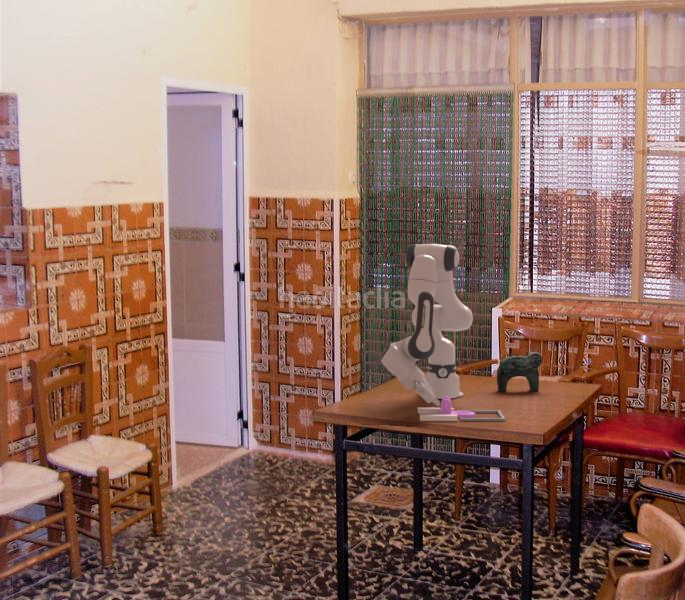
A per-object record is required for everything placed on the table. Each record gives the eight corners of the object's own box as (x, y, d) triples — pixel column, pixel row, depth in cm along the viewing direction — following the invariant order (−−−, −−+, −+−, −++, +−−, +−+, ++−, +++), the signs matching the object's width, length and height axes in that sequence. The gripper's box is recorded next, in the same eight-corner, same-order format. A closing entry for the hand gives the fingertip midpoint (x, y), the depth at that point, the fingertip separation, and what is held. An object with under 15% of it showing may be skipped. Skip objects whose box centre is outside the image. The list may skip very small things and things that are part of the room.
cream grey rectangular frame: (417, 412, 384) (417, 407, 384) (499, 412, 384) (499, 407, 383) (420, 421, 369) (420, 415, 369) (505, 421, 369) (505, 416, 369)
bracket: (440, 417, 376) (440, 399, 375) (441, 414, 381) (441, 396, 380) (474, 418, 374) (475, 400, 373) (475, 415, 379) (475, 397, 378)
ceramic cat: (539, 389, 432) (539, 344, 430) (543, 391, 426) (544, 346, 424) (495, 390, 430) (495, 344, 428) (499, 393, 423) (499, 347, 421)
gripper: (421, 378, 365) (447, 404, 366) (418, 368, 385) (442, 393, 386) (409, 390, 365) (435, 416, 366) (406, 380, 386) (431, 404, 386)
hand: (439, 404), depth 376 cm, fingers closed
